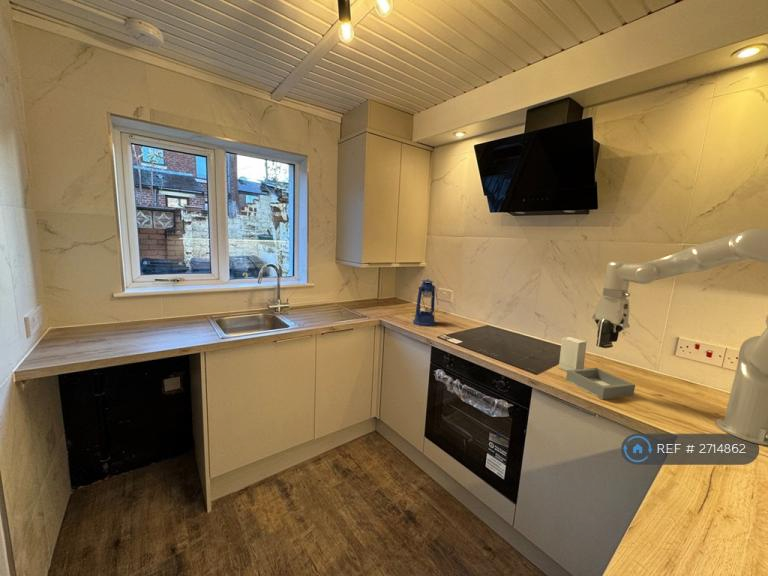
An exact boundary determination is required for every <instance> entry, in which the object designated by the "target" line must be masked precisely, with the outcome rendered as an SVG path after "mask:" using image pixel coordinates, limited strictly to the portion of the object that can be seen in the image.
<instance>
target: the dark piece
mask: <svg viewBox="0 0 768 576" xmlns="http://www.w3.org/2000/svg"><path fill="white" fill-rule="evenodd" d="M616 326H617V325H616ZM612 331H613V328H612V323H611V322H610V321H609V320H605V319H601V321H600V325H599V331H598V330H597V333H598V334H597V335H598V337H597V340H596V345H595V346H596V347H598V348H602V349H610V348H613V347H614V345H613V342H610V341H609V339H610V333H611V332H612Z"/></svg>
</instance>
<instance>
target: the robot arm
mask: <svg viewBox="0 0 768 576" xmlns="http://www.w3.org/2000/svg"><path fill="white" fill-rule="evenodd" d="M747 260H753V261H757V262H761V263H764V264H768V230H767V229H762V228H751V229H747V230H745V231H742V232H739V233H735V234H732V235H728V236H724V237H722V238H718V239H715V240H711V241H707V242H704V243H701V244H697V245H694V246H691V247H687V248H685V249H683V250H681V251H679V252H676V253H673V254H670V255H667V256H664V257H660V258H657V259H653V260H650V261H646V262H641V263H640V262H638V263H631V262H629V261H628V262H627V261H616V260H615V261H609V262H608V263H607V266H606V271H605V277H604V284H603V290H602V295H600V297H599V300H598V302H597V305H596V309H595V313H594V314H593V315H592V316H591V319H593V321H594V322H595V324H596V325H597V326H596V327H597V328H598V329H597V335H596V337H597V338H598V331H599V325H600V321H601V319H605V320H609V321H610V322H611V323H612V328H613V331H612V332H611V333H610V339H609V341H610V342H612V343H615V342H618V339H619V333H620V332H622V331H623V330H625V329H629V328H630V323H629V318H630V316H629V315H630V299H628V297H630V296H631V293H630V292H629V286H630V283H634V284H641V285H647V284H651V283H653V282H654V281H655V282H656V281H659V280H662V279H667V278H671V277H674V276H680V275H684V274H691V273H699V272H704V271H708V270H711V269H712V270H713V269H715V268H716V269H717V268H719V267H723V266H727V265H732V264H735V263H740V262H744V261H747ZM616 325H617V326H616ZM765 325H766V326H767V327H766V328H765V329H764V331H763V332H762V333H761V334H760V335H756V336H751V337H750V338H747V339H745V340H744V341H743V342H742V344H741V345H740V348H739V352H738V358H737V359H738V360H737V365H736V370H735V375H734V377H733V381H732V386H731V389H730V390H731V391H730V393H729V394H730V395H729V399H728V402H727V405H726V410H725V415H724V418H723V417H721V418H717V419H716V420H715V425H716V426H717V427H718V428H719V429H721V430H722V431H723V432H725V433H727V434H729V435H731V436H734V437H736V438H738V439H741V440H744V441H747V442H750V443H753V444H757V445H762V446H768V314H767V316H766V319H765Z"/></svg>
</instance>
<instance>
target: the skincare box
mask: <svg viewBox="0 0 768 576" xmlns="http://www.w3.org/2000/svg"><path fill="white" fill-rule="evenodd" d="M587 342H588V341H586V340H584V339H579V338H576V337H571V336H567V337H566V336H565V337H562V338H561V342H560V343H561V345H560V351H559V353H560V354H559V362H558V363H559V364H558V369H560V370H563V371H565V372H567V370H576V369H585V361H586V352H587Z"/></svg>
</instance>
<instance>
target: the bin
mask: <svg viewBox="0 0 768 576" xmlns="http://www.w3.org/2000/svg"><path fill="white" fill-rule="evenodd" d="M565 381H566V382H568V383H570V384H571V385H574V386H576V387H578V388H580V389H581V390H583V391H585V392H586V393H589V394H591V395H593V396H594V397H597V398H599V399H600V400H610V399H619V398H624V397H626V398H628V397H631V396H633V397H634V393H635V388H636V384H634V383H633V382H631V381H627V380H625V379H623V378H621V377H618V376H616V375H614V374H612V373H609V372H607V371H605V370H603V369H600V368H598V367H590V368H584V369H576V370H567V371H566V377H565Z"/></svg>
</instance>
